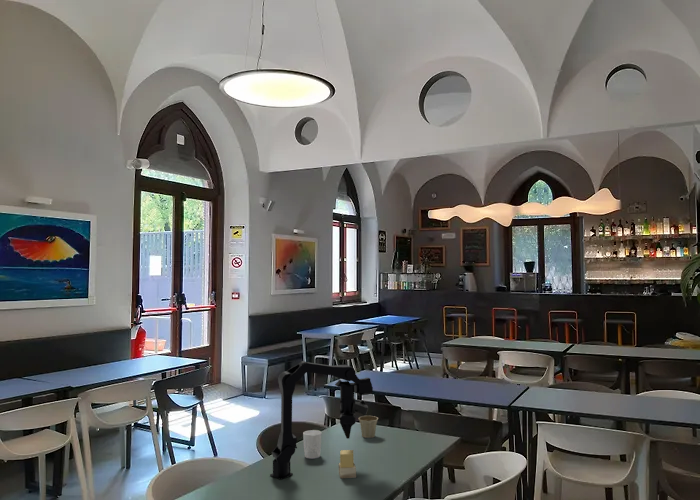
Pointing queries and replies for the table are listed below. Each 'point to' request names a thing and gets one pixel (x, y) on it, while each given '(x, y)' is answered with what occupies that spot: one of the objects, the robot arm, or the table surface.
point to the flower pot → (368, 426)
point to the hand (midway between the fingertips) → (347, 435)
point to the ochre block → (346, 458)
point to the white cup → (312, 443)
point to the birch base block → (347, 472)
